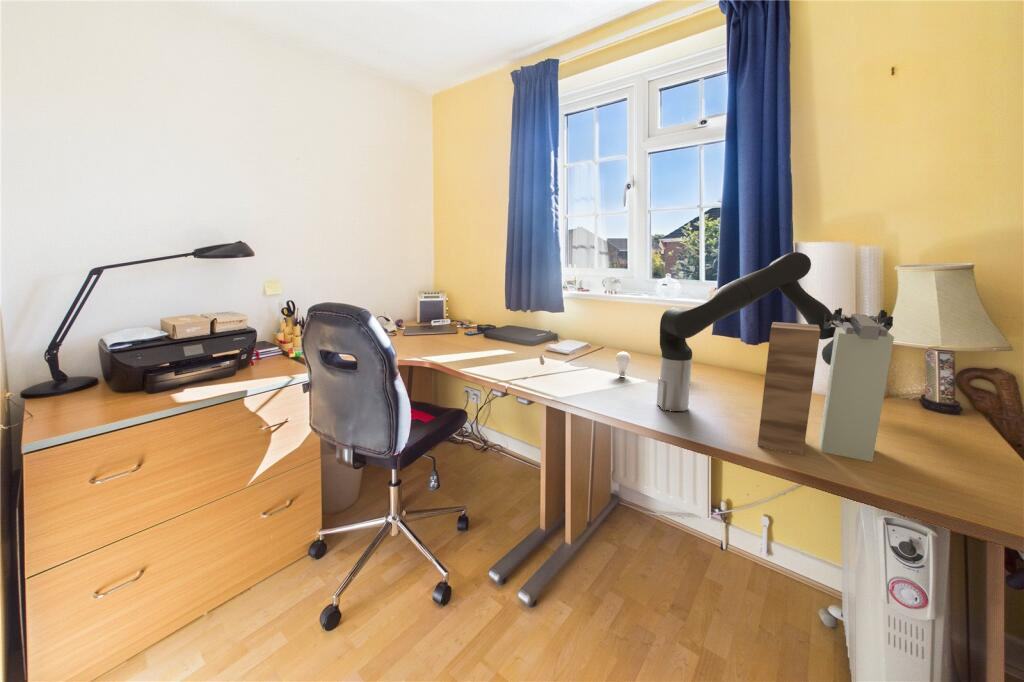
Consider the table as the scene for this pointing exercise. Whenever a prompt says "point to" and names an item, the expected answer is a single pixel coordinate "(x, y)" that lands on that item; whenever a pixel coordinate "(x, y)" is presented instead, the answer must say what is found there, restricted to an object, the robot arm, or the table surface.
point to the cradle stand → (855, 393)
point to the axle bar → (865, 326)
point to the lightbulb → (622, 362)
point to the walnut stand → (788, 386)
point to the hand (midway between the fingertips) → (861, 312)
